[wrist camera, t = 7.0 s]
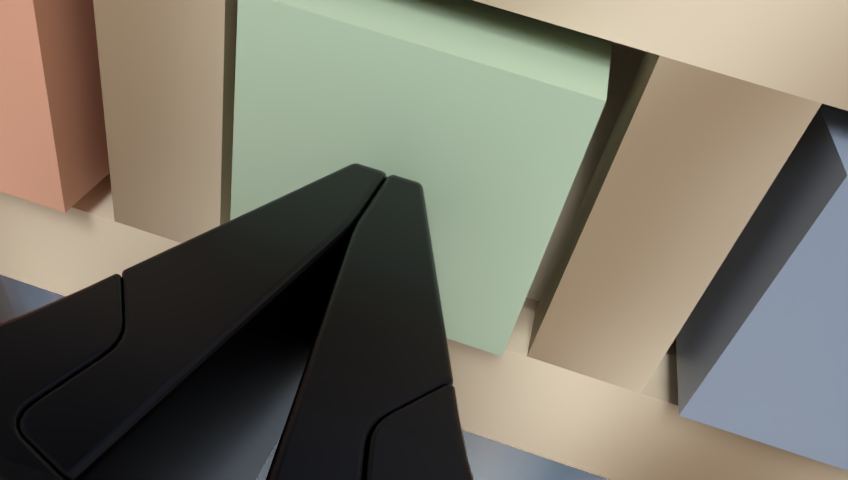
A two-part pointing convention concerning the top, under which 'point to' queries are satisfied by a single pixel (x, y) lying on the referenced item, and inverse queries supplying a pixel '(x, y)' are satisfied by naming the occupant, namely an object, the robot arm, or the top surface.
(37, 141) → the key terracotta
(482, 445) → the top surface
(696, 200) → the wooden slotted block
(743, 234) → the key slate
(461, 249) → the key sage
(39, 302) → the top surface
